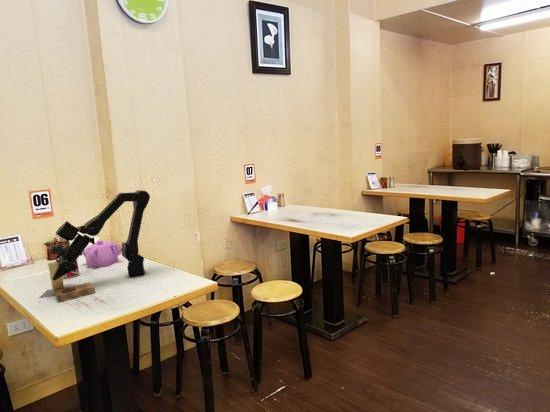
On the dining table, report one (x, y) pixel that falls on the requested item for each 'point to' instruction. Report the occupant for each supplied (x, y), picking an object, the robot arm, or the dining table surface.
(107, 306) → the dining table surface
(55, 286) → the pin
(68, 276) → the soda can
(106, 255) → the teakettle
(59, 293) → the socket block
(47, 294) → the mat
